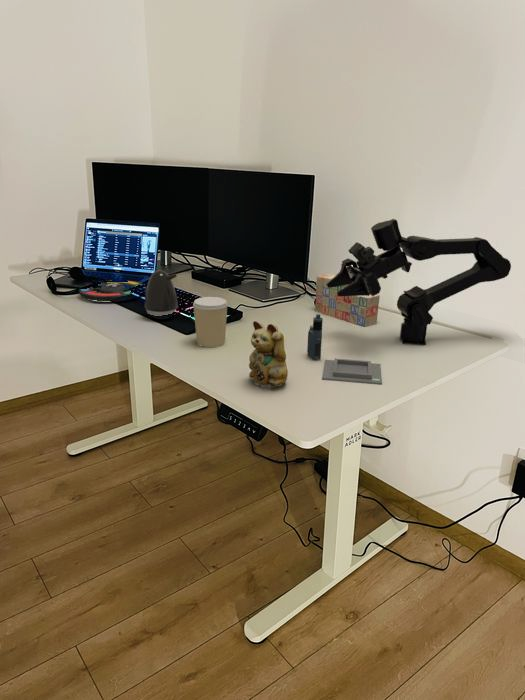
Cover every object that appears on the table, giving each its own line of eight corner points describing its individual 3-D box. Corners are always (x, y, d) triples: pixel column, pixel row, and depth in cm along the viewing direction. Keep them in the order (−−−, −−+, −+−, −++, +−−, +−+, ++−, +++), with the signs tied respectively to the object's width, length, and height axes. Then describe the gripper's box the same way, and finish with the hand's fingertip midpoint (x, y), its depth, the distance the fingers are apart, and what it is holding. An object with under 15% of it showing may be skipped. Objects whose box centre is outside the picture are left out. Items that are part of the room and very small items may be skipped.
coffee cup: (232, 339, 154) (232, 298, 150) (221, 350, 146) (220, 307, 142) (201, 335, 157) (200, 295, 152) (188, 346, 148) (187, 304, 144)
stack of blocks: (377, 323, 171) (381, 285, 167) (364, 327, 167) (368, 288, 163) (327, 308, 186) (329, 272, 182) (314, 311, 182) (316, 275, 178)
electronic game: (131, 285, 211) (130, 273, 209) (156, 299, 193) (155, 286, 191) (71, 293, 198) (70, 280, 197) (92, 308, 181) (90, 294, 179)
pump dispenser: (173, 323, 166) (171, 275, 161) (140, 321, 168) (137, 273, 163) (182, 314, 176) (181, 267, 171) (152, 312, 177) (149, 266, 172)
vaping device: (312, 361, 140) (315, 316, 136) (305, 354, 145) (308, 310, 140) (322, 360, 140) (324, 316, 136) (314, 353, 145) (317, 310, 141)
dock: (380, 365, 138) (380, 359, 138) (382, 384, 127) (382, 378, 127) (324, 361, 140) (325, 355, 140) (321, 379, 129) (322, 373, 129)
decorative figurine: (242, 382, 126) (242, 321, 121) (262, 371, 133) (263, 312, 128) (277, 393, 122) (279, 329, 116) (296, 381, 128) (298, 320, 123)
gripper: (361, 231, 151) (311, 256, 151) (388, 243, 134) (332, 271, 134) (374, 266, 156) (326, 291, 156) (402, 282, 139) (347, 309, 139)
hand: (332, 290), depth 146 cm, fingers open, 9 cm apart
